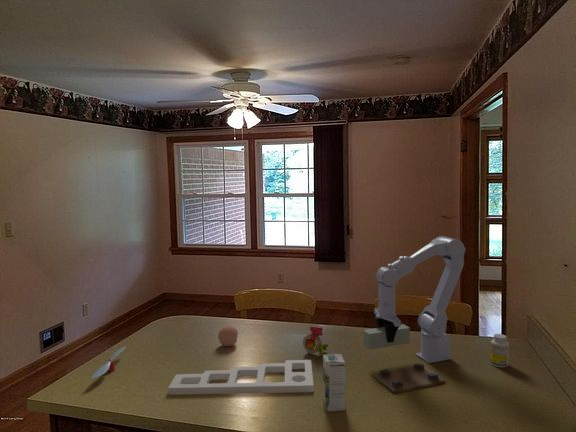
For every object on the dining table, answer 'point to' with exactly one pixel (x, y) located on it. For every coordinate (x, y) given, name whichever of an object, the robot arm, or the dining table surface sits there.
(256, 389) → the holder
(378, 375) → the cradle board
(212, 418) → the dining table surface
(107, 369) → the propeller
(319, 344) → the bird rattle
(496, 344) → the supplement bottle
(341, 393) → the syrup box
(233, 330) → the toy ball
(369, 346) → the block
